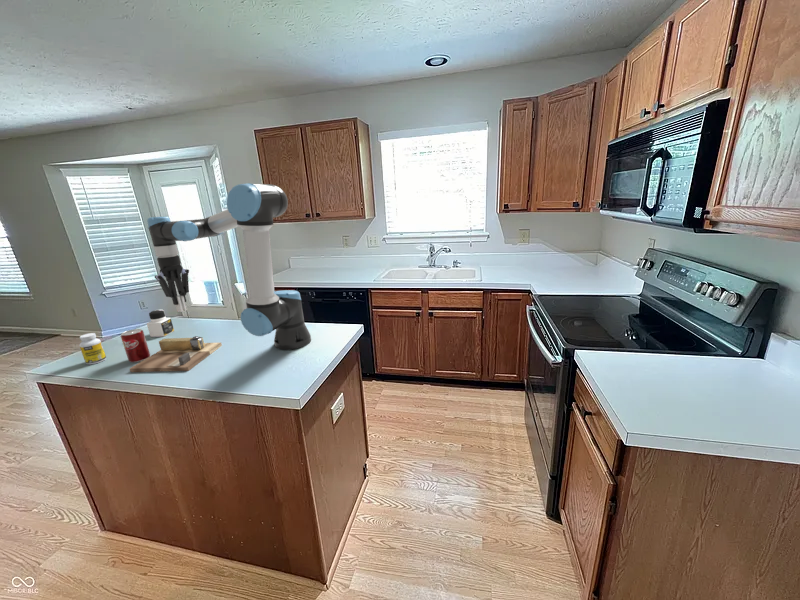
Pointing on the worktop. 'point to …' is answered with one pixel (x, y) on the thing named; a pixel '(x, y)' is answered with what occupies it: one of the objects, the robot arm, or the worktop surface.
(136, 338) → the soda can
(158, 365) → the wooden cutting board
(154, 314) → the medicine bottle
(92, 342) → the pill bottle
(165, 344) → the swing bar
